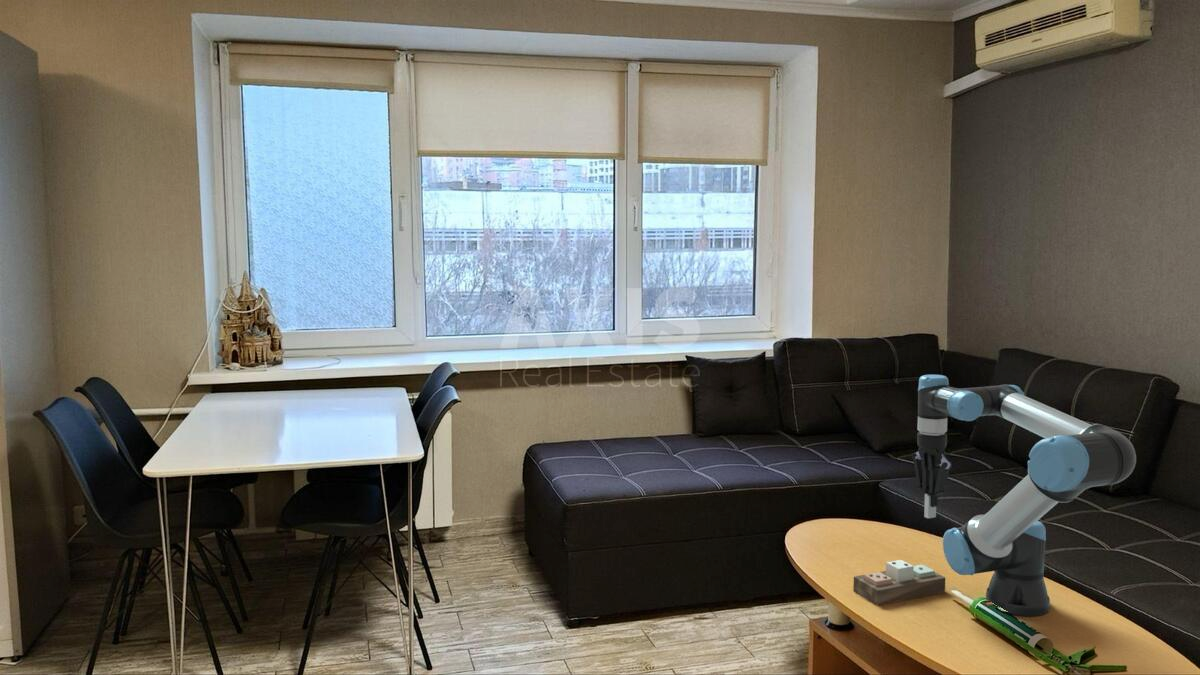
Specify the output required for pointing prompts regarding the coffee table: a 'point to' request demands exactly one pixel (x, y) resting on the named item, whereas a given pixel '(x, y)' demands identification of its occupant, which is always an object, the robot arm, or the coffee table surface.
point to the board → (899, 588)
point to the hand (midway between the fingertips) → (930, 516)
